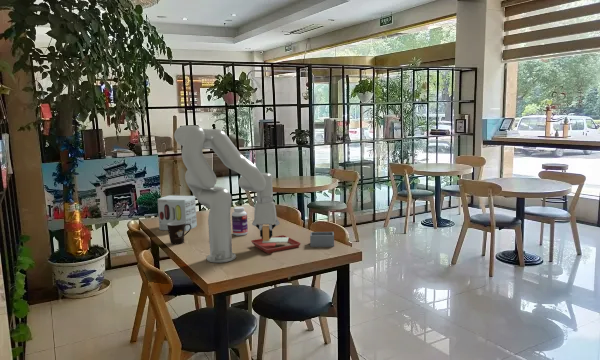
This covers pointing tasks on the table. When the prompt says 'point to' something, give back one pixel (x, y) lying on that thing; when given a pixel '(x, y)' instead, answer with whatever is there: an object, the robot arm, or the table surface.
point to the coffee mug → (177, 232)
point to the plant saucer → (271, 246)
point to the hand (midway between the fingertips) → (266, 237)
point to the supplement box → (177, 211)
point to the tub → (322, 239)
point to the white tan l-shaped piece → (272, 240)
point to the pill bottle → (239, 221)
